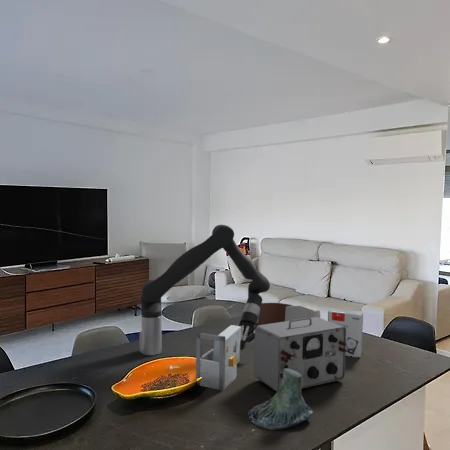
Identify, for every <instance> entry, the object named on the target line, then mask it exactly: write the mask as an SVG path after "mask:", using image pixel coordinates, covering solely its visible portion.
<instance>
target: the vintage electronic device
mask: <svg viewBox="0 0 450 450" xmlns="http://www.w3.org/2000/svg"><path fill="white" fill-rule="evenodd" d="M345 352H346V328H345V327H343V326H340V325H337V324H335V323H332V322H329V321H328V319H324V318H322V317H320V318H319V317H313V318H310V317H308V318H301V319H294V320H290V321H285V322H278V323H271V324H264V325H258V324H257V325H256V328H255V339H254V367H253V369H254V370H253V371H254V372H253V374H254V377H255V378H256V379H258V380H259V381H260V382H261V383H263V384H265V385H266V386H268V387H269V388H270V389H272V390H274V391H275V393H276V392H278V391H279V389H280V384H281V381H282V378H283V372H284V369H285V368H288V369H292V370H294V371H297V372H298V373H300V374H301V390H302V389H306V388H310V387H311V388H312V387H315V386H320V385H323V384H328V383H331V382H332V383H337V382H338V381H340V380H343V379H344V378H345V377H346V376H345V375H346V356H345Z"/></svg>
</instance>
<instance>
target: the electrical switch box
mask: <svg viewBox="0 0 450 450" xmlns="http://www.w3.org/2000/svg"><path fill="white" fill-rule="evenodd" d="M308 317H310V318H313V317H319V318H321V309H319V308H312V307H305V306H303V305H293V306H287V307H286V312H285V321H290V320H294V319H301V318H308Z"/></svg>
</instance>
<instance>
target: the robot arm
mask: <svg viewBox="0 0 450 450" xmlns="http://www.w3.org/2000/svg"><path fill="white" fill-rule="evenodd" d="M234 238H235V232H234V230H233V228H232V227H231V226H229V225H225V224H218V225H216V226H214V227H213V229H212V233H211V235H210V236H209V237H208V238H206V239H205V240H204V241H203V242H201V243H199V244H197V245H195V246H193V247H191V248H189V249H188V250H186V251H185V252H184V253H182V254H181V255H180V256H179V257H178V258H176V259H175V260H174V261H173V262H172V263H171V265H169V267H168V268H167V269H166V270H165V272H163V274H161V275H160V276H159V277H157V278H156V279H148V280H146V281H144V283H143V284H142V286H141V288H140V303H141V304H140V310H141V311H140V312H141V313H140V314H141V319H140V321H141V325H140V326H141V327H140V328H141V329H140V330H141V331H139V353H141V354H142V355H144V356H156V354H157V355H159V354H161V353H162V348H163V347H162V344H163V343H162V339H163V338H162V336H163V335H162V333H163V332H162V331H163V329H162V326H163V325H162V324H163V323H162V319H163V316H162V313H163V311H162V309H163V307H162V297H164V295H165V294H166V293H168V292H169V290H171V289H172V288H173V287H174V286H175V285H176V284H178V283H179V282H181V281H183V280H184V279H185V278H187V277H188V276H189V275H191V273H193V272H194V271H195V270H197V269H199V267H200V266H202V265H203V264H204V263H205V262H206V261H207V260H208V259H210V258H211V257H212V256H213V255H214V254H215V253H217V252H219V250H221V249H223V250H224V251H225V252H226V254H227V255H228V256H229V257H230V259H231V260H232V261H233V263H234V265H235V266H236V267H237V269H238V271H239V272H240V274H241V275H242V277H244V278H245V279H246V280H251V281H250V282H249V284H248V288H247V289H248V290H247V297H248V298H247V300H246V303H245V306H244V307H243V311H242V314H241V317H240V320H239V323H238V325H237V326H241V340H240V351H243V350H245V348H246V344H247V343H252V341H253V340H255V328H256V326H257V325H258V318H259V313H260V308H261V304H262V303H263V297H262V296H261V295H260V294H262V293H265V292H268V291H269V290H270V287H271V285H270V284H271V283H270V282H269V280H268V277H266V276H265V275H264V274H263V273H261V271H259V270H258V269H256V267H255V266H254V264H253V263H252V261H251V260H250V259H249V258H248V256H247V255H246V254H245V253H244V252H243V251H242V250H241V248H240V247H239V246H238V244H237V243H236V241H235V240H234Z"/></svg>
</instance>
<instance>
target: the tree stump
mask: <svg viewBox="0 0 450 450" xmlns="http://www.w3.org/2000/svg"><path fill="white" fill-rule="evenodd" d="M313 412H314V411H313V410H312V407H310V406H309V405H308V404H307V403H306V401H305V399H304V397H303V395H302V389H301V374H300V373H298V372H297V371H294V370H292V369H288V368H285V369H284V372H283V378H282V381H281V384H280V389H279V391H278V392H276V391H275V394H274V395H273V396H272V397H270V399H268V400H265V401H264V402H262V403H261V404H256V405H255V406H253V407H252V408H251V409H250V410H248V419H249V421H250V422H251V423H252V424H254V425H255V426H257V427H259V428H262V429H266V430H270V431H281V430H284V429H289V428H293V427H295V426H296V425H299V424H301V423H303V422H304V421H306V420H308V419H309V418H310V417H311V415H312V414H313Z"/></svg>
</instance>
